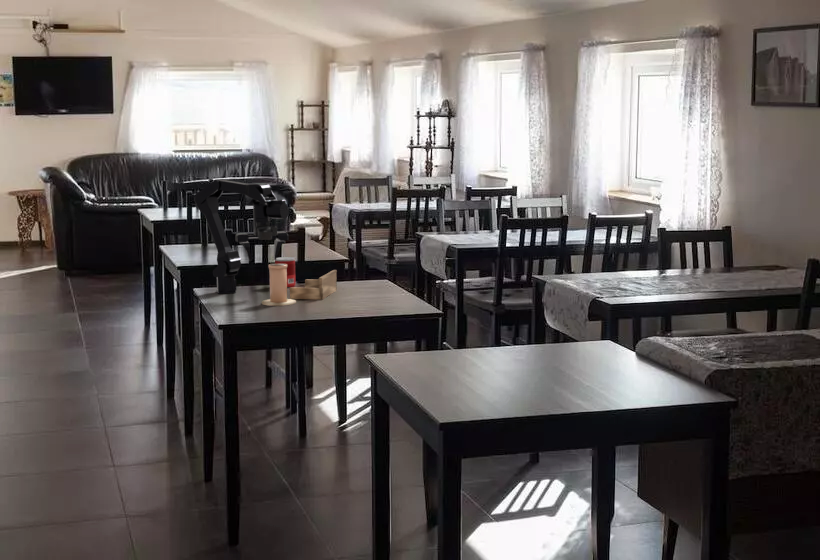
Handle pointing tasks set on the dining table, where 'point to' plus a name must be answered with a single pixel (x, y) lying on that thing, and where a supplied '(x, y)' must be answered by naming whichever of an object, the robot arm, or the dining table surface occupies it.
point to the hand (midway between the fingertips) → (262, 260)
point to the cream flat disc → (289, 302)
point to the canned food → (288, 269)
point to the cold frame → (316, 287)
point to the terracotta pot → (278, 283)
